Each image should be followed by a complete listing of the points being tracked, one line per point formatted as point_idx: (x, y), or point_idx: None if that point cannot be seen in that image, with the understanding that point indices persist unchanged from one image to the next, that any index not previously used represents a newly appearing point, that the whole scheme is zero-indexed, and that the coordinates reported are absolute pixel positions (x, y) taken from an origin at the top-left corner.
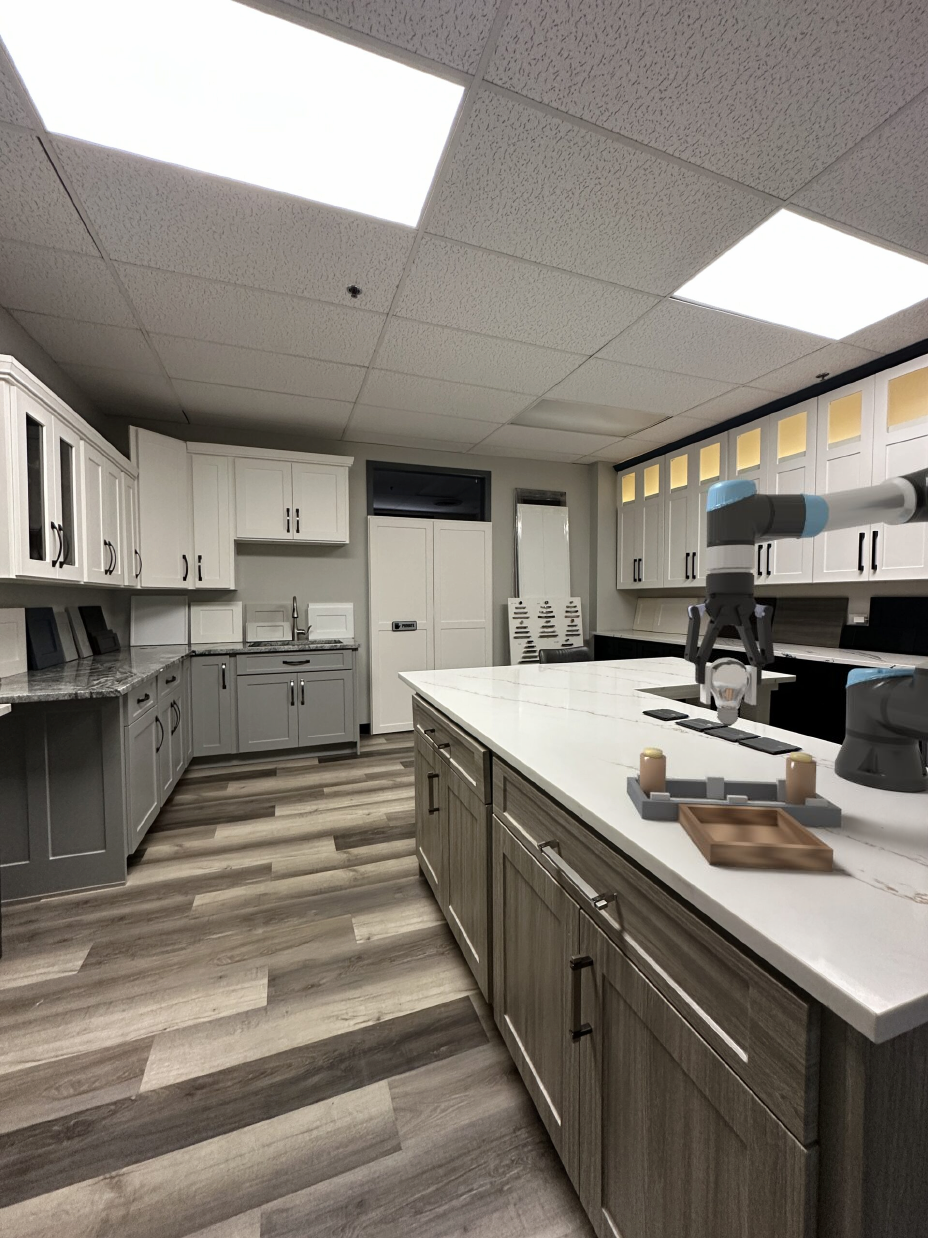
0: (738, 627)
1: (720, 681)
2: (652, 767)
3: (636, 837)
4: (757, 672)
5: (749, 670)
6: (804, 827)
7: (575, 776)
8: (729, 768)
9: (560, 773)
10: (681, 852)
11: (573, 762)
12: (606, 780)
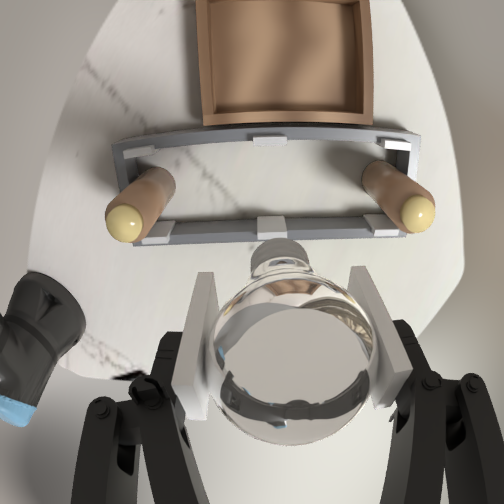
0: None
1: (356, 304)
2: (417, 183)
3: (428, 75)
4: (168, 372)
5: (200, 384)
6: (199, 52)
7: (434, 274)
8: None
9: (446, 281)
10: (384, 32)
11: (414, 320)
12: (404, 266)
